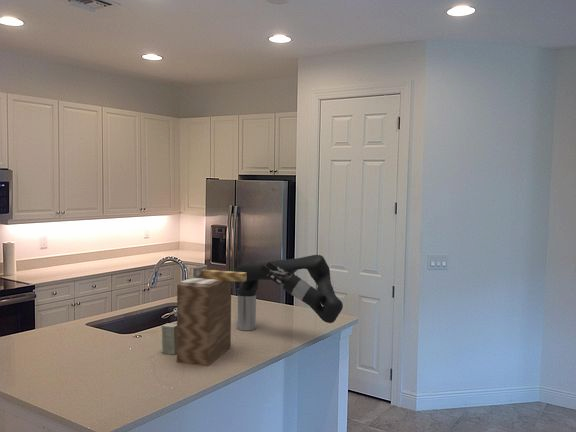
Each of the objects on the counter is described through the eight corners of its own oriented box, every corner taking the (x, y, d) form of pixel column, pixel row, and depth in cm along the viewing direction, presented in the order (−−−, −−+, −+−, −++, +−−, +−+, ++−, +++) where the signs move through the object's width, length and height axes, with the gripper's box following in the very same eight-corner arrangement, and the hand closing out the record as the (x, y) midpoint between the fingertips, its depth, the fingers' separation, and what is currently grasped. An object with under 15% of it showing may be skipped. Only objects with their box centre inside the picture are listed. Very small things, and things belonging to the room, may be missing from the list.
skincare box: (179, 351, 223) (179, 324, 222) (174, 355, 219) (174, 327, 218) (167, 349, 225) (167, 322, 224) (161, 353, 221) (161, 325, 220)
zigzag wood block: (230, 347, 230) (231, 274, 228) (208, 365, 207) (209, 285, 205) (201, 344, 234) (202, 272, 231) (176, 362, 211) (177, 282, 208)
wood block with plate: (248, 279, 223) (248, 267, 223) (241, 283, 214) (241, 271, 214) (202, 275, 229) (202, 264, 228) (193, 279, 220) (193, 268, 220)
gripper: (305, 276, 215) (274, 255, 218) (297, 282, 201) (263, 260, 205) (296, 291, 217) (265, 270, 220) (287, 298, 203) (254, 275, 206)
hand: (264, 265), depth 212 cm, fingers open, 8 cm apart
